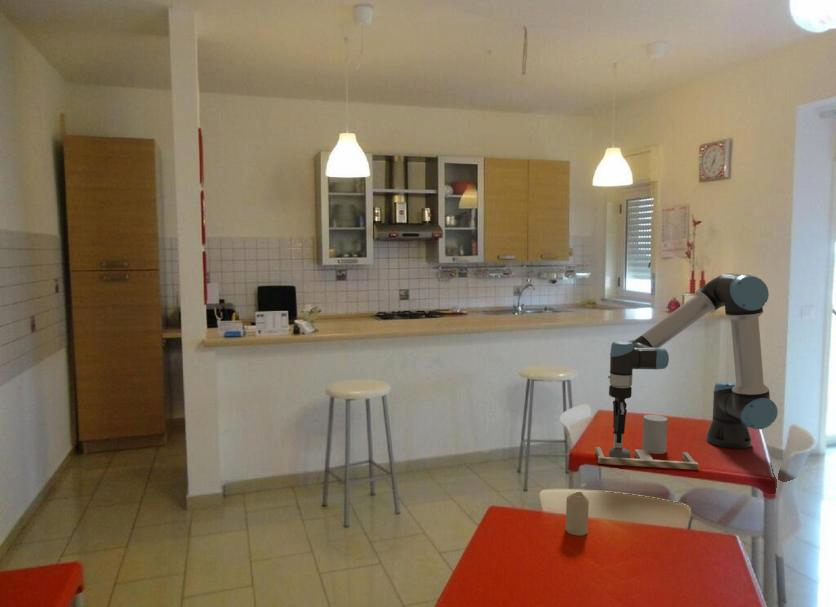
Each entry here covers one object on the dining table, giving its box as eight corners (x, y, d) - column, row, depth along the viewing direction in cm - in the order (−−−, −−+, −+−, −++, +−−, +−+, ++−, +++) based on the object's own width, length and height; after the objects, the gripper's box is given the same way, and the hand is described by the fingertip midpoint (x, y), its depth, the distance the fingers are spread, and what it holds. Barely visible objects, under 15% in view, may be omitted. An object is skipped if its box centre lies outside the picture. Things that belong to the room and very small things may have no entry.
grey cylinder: (662, 446, 222) (663, 415, 221) (669, 454, 214) (670, 421, 213) (639, 445, 223) (640, 414, 222) (645, 453, 215) (647, 420, 214)
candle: (572, 524, 159) (574, 487, 158) (591, 531, 155) (592, 493, 155) (561, 530, 156) (562, 493, 155) (580, 538, 152) (581, 500, 151)
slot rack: (688, 457, 211) (688, 452, 210) (698, 469, 199) (698, 463, 199) (594, 452, 215) (594, 446, 215) (598, 463, 204) (598, 457, 204)
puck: (628, 456, 212) (628, 448, 212) (631, 463, 205) (632, 455, 205) (607, 455, 213) (608, 447, 213) (610, 462, 206) (610, 453, 206)
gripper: (606, 381, 218) (604, 444, 220) (612, 389, 205) (609, 456, 207) (628, 381, 217) (625, 445, 219) (635, 390, 204) (632, 457, 206)
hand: (617, 450), depth 213 cm, fingers closed
